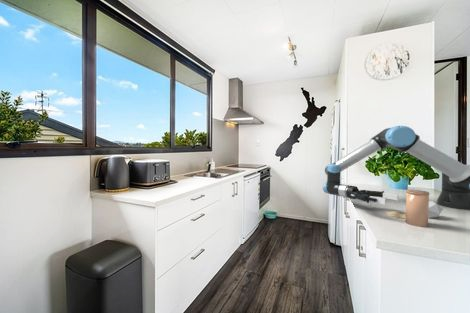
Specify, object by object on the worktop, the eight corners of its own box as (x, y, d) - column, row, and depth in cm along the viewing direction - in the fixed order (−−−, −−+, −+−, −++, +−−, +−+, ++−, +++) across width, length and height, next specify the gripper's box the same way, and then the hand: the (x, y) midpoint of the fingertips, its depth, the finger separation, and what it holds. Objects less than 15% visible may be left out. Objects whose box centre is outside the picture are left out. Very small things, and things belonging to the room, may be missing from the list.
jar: (426, 222, 90) (427, 190, 89) (430, 228, 84) (431, 194, 83) (404, 219, 95) (404, 189, 94) (406, 224, 88) (407, 192, 88)
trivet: (412, 214, 102) (412, 213, 102) (416, 220, 93) (416, 219, 93) (385, 210, 108) (385, 209, 108) (386, 216, 99) (386, 215, 99)
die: (445, 222, 91) (449, 204, 94) (426, 213, 93) (431, 195, 95) (428, 222, 99) (432, 206, 102) (411, 213, 100) (416, 197, 103)
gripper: (360, 195, 122) (402, 203, 103) (336, 201, 109) (379, 211, 91) (360, 183, 122) (402, 189, 103) (336, 187, 109) (379, 195, 91)
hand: (391, 199), depth 97 cm, fingers open, 13 cm apart
